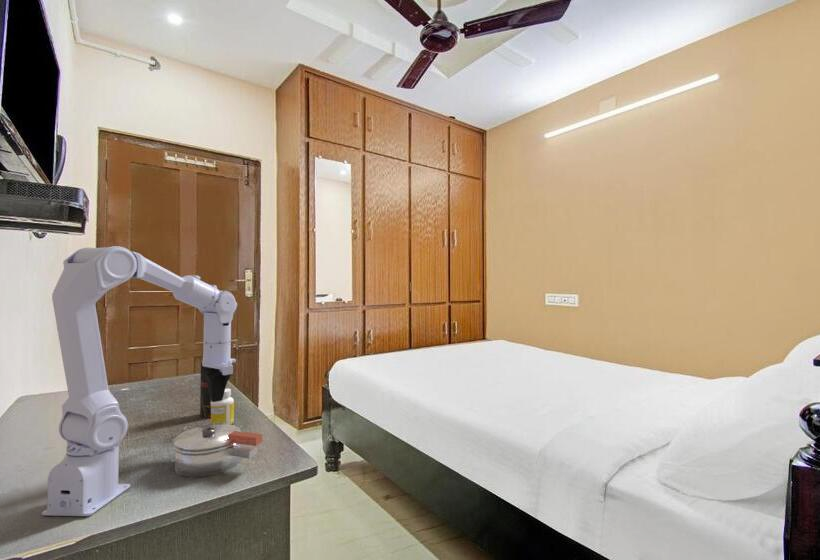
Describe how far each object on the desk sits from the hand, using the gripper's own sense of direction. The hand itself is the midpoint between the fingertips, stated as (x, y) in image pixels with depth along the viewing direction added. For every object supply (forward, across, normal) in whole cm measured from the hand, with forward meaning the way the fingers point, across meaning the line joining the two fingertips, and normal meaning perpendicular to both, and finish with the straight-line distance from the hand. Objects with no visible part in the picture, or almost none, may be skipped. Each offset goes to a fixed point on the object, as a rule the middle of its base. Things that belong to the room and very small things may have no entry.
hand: (216, 400), depth 92 cm
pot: (+10, -10, +4) cm, 15 cm away
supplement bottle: (+11, +11, -5) cm, 16 cm away
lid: (+5, -11, +3) cm, 12 cm away
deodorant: (+11, +23, -6) cm, 26 cm away
